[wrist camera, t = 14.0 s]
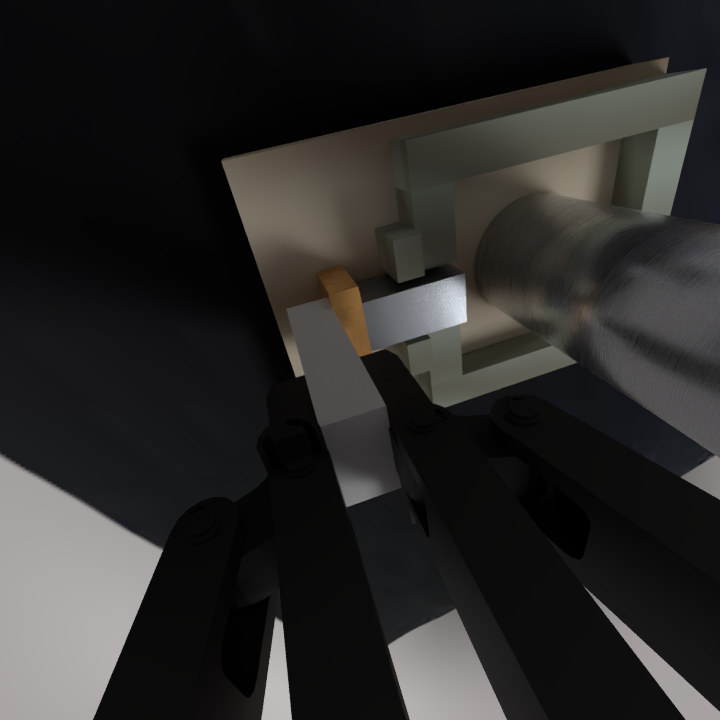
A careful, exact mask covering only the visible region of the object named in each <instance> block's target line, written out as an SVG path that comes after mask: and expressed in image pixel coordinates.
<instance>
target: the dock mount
mask: <svg viewBox="0 0 720 720" xmlns="http://www.w3.org/2000/svg"><path fill="white" fill-rule="evenodd" d="M668 60H669V57H668V58H663V59H657V60H651V61H646V62H640V63H635V64H630V65H626V66H622V67H617V68H613V69H609V70H604V71H600V72H596V73H591V74H587V75H583V76H578V77H574V78H570V79H565V80H561V81H557V82H552V83H548V84H544V85H539V86H535V87H531V88H526V89H522V90H518V91H513V92H509V93H505V94H500V95H496V96H492V97H488V98H483V99H479V100H475V101H470V102H466V103H462V104H457V105H453V106H449V107H444V108H440V109H436V110H431V111H427V112H423V113H418V114H414V115H410V116H405V117H401V118H397V119H392V120H388V121H384V122H379V123H375V124H371V125H366V126H362V127H358V128H353V129H349V130H345V131H340V132H336V133H332V134H327V135H323V136H319V137H314V138H310V139H306V140H301V141H297V142H293V143H288V144H284V145H280V146H275V147H271V148H267V149H263V150H258V151H254V152H250V153H245V154H241V155H237V156H232V157H228V158H224V159H222V161H221V162H222V165H223V168H224V170H225V173H226V176H227V179H228V182H229V185H230V188H231V191H232V194H233V196H234V199H235V202H236V205H237V208H238V211H239V214H240V217H241V220H242V223H243V225H244V228H245V231H246V234H247V237H248V240H249V243H250V246H251V249H252V251H253V254H254V257H255V260H256V263H257V266H258V269H259V272H260V275H261V277H262V280H263V283H264V286H265V289H266V292H267V295H268V298H269V301H270V304H271V306H272V309H273V312H274V315H275V318H276V321H277V324H278V327H279V330H280V332H281V335H282V338H283V341H284V344H285V347H286V350H287V353H288V356H289V358H290V361H291V364H292V367H293V370H294V373H295V376H296V377H299V376H303V375H305V374H304V371H303V367H302V364H301V360H300V357H299V353H298V349H297V346H296V342H295V339H294V335H293V331H292V328H291V324H290V321H289V317H288V313H287V310H286V309H287V308H291V307H294V306H298V305H301V304H305V303H309V302H312V301H316V300H319V299H323V296H322V292H321V288H320V284H319V280H318V277H317V272H320V271H324V270H328V269H331V268H335V267H338V266H343V268H344V269H345V270H346V271H347V273H348V274H349V275H350V276H351V278H352V279H353V280H354V281H355V282H359V281H362V280H366V279H369V278H373V277H376V276H380V275H383V274H387V273H388V274H389V275H390V276H391V277H392V278H393V279H394V280H396V281H397V282H398V283H401V282H404V281H408V280H411V279H415V278H418V277H422V276H425V271H424V270H426V269H429V268H433V267H436V266H439V265H443V264H446V263H449V264H451V265H453V266H454V267H456V268H458V269H459V270H461V271H462V272H464V273H465V284H466V312H467V322H464V323H461V324H458V325H455V326H452V327H448V328H445V329H442V330H439V331H436V332H432V333H429V334H426V335H423V336H419V337H416V338H413V339H410V340H407V341H403V342H400V343H397V344H394V345H391V346H387V347H384V348H381V349H378V350H375V351H372V353H374V352H377V351H380V350H384V349H386V350H388V351H390V352H392V353H394V354H396V355H398V356H399V358H400V359H401V360H402V362H403V363H404V365H405V367H407V369H408V370H409V371H410V374H412V376H413V377H414V378H415V380H416V381H417V382H418V384H419V385H420V387H421V388H422V389H423V391H424V392H425V393H426V395H427V396H428V398H429V399H430V400H431V402H432V403H433V404H437V405H440V406H442V407H448V406H451V405H453V404H456V403H459V402H462V401H465V400H468V399H471V398H474V397H477V396H480V395H483V394H486V393H489V392H492V391H495V390H498V389H500V388H503V387H506V386H509V385H512V384H515V383H518V382H521V381H524V380H527V379H530V378H533V377H536V376H539V375H542V374H545V373H548V372H550V371H553V370H556V369H559V368H562V367H565V366H568V365H571V364H574V363H577V362H576V361H575V360H573V359H572V358H570V357H569V356H567V355H566V354H564V353H563V352H561V351H560V350H558V349H557V348H555V347H554V346H552V345H551V344H549V343H548V342H546V341H545V340H543V339H542V338H540V337H539V336H537V335H536V334H534V333H533V332H531V331H530V330H528V329H527V328H525V327H524V326H522V325H521V324H519V323H518V322H516V321H515V320H513V319H512V318H511V317H509V316H508V315H506V314H505V313H503V312H502V311H500V310H499V309H497V308H496V307H494V306H493V305H491V304H490V303H488V302H487V301H486V300H485V299H484V298H483V297H482V296H481V294H480V292H479V291H478V288H477V286H476V282H475V278H474V260H475V255H476V251H477V247H478V245H479V242H480V240H481V238H482V236H483V234H484V232H485V230H486V229H487V227H488V225H489V224H490V223H491V221H492V220H493V219H494V218H495V217H496V215H497V214H498V213H499V212H500V211H501V210H503V209H504V208H505V207H506V206H507V205H509V204H510V203H512V202H513V201H515V200H517V199H519V198H521V197H523V196H526V195H529V194H533V193H551V194H556V195H561V196H567V197H572V198H577V199H583V200H588V201H593V202H599V203H604V204H610V205H615V206H620V207H626V208H631V209H636V210H642V211H647V212H652V213H658V214H663V215H668V216H670V213H671V209H672V205H673V201H674V197H675V193H676V189H677V185H678V181H679V177H680V173H681V169H682V165H683V161H684V157H685V153H686V149H687V145H688V141H689V137H690V133H691V129H692V125H693V121H694V117H695V113H696V109H697V105H698V101H699V97H700V93H701V89H702V85H703V81H704V77H705V73H706V69H707V68H705V69H698V70H691V71H684V72H677V73H670V74H666V70H667V65H668Z"/></svg>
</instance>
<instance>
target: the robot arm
mask: <svg viewBox="0 0 720 720" xmlns="http://www.w3.org/2000/svg"><path fill="white" fill-rule="evenodd" d="M286 310H287V313H288V317H289V321H290V324H291V328H292V331H293V335H294V339H295V342H296V346H297V349H298V353H299V357H300V360H301V364H302V367H303V371H304V374H305V375H303V376H299V377H296V378H293V379H290V380H286V381H283V382H280V383H277V384H273V385H272V387H271V389H270V391H269V393H268V395H267V406H268V415H269V420H270V421H269V424H270V425H269V426H268V427H267V428H266V429H264V431H263V432H262V434H261V435H260V436H259V438H258V441H257V446H256V448H257V451H258V453H259V455H260V457H261V459H262V461H263V463H264V466H265V468H266V470H267V472H268V476H267V477H266V479H265V480H264V481H263V482H262V483H261V484H260V485H259V486H258V487H257V488H255V489H254V490H253V491H251V492H250V493H248V494H247V495H245V496H244V497H242V498H241V499H239V500H237V501H236V502H233V501H231V500H229V499H227V498H225V497H213V498H210V499H206V500H203V501H201V502H199V503H197V504H196V505H194V506H192V507H191V508H189V509H188V510H187V511H186V512H185V513H184V514H183V515H182V516H181V517H180V518H179V519H178V521H177V522H176V524H175V526H174V527H173V529H172V530H171V533H170V535H169V537H168V540H167V542H166V545H165V547H164V549H163V552H162V554H161V557H160V559H159V562H158V564H157V566H156V569H155V571H154V574H153V576H152V579H151V581H150V584H149V586H148V588H147V591H146V593H145V595H144V598H143V600H142V603H141V605H140V608H139V610H138V613H137V615H136V617H135V620H134V622H133V625H132V627H131V629H130V632H129V634H128V637H127V639H126V641H125V644H124V646H123V649H122V652H121V654H120V656H119V658H118V661H117V663H116V666H115V668H114V671H113V673H112V675H111V678H110V680H109V683H108V685H107V688H106V690H105V692H104V695H103V697H102V700H101V702H100V705H99V707H98V709H97V712H96V714H95V716H94V719H93V720H261V716H262V710H263V703H264V695H265V688H266V680H267V672H268V666H269V658H270V651H271V644H272V637H273V628H274V622H275V615H276V607H277V600H278V593H279V587H280V597H281V608H282V619H283V629H284V639H285V650H286V661H287V671H288V682H289V692H290V703H291V714H292V720H410V719H409V716H408V713H407V709H406V706H405V703H404V699H403V696H402V692H401V689H400V686H399V682H398V679H397V675H396V672H395V669H394V665H393V662H392V658H391V655H390V652H389V648H388V645H387V642H386V638H385V635H384V631H383V628H382V625H381V621H380V618H379V614H378V611H377V608H376V604H375V601H374V598H373V594H372V591H371V587H370V584H369V581H368V577H367V574H366V571H365V567H364V564H363V560H362V557H361V554H360V550H359V547H358V543H357V540H356V537H355V533H354V530H353V527H352V523H351V520H350V517H349V514H348V511H347V507H348V506H351V505H354V504H357V503H359V502H362V501H365V500H368V499H370V498H373V497H376V496H379V495H382V494H384V493H387V492H390V491H393V490H396V489H398V488H401V484H400V479H401V481H402V483H403V486H404V488H405V490H406V493H407V499H408V505H409V510H410V516H411V521H412V525H413V524H416V522H417V524H418V527H419V529H420V531H421V533H422V535H423V537H424V540H425V542H426V544H427V546H428V548H429V551H430V553H431V555H432V557H433V559H434V561H435V564H436V566H437V568H438V570H439V572H440V575H441V577H442V579H443V581H444V583H445V585H446V588H447V590H448V592H449V594H450V596H451V599H452V601H453V603H454V605H455V607H456V609H457V611H458V614H459V616H460V618H461V620H462V623H463V625H464V627H465V629H466V631H467V633H468V635H469V638H470V640H471V642H472V644H473V647H474V649H475V650H476V653H477V655H478V657H479V660H480V662H481V664H482V666H483V668H484V670H485V672H486V675H487V677H488V679H489V681H490V684H491V686H492V688H493V690H494V692H495V694H496V697H497V699H498V701H499V703H500V705H501V708H502V710H503V712H504V714H505V716H506V718H507V720H685V718H684V717H683V716H682V715H681V713H680V712H679V711H678V709H677V708H676V707H675V705H674V704H673V703H672V701H671V700H670V699H669V698H668V696H667V695H666V694H665V692H664V691H663V690H662V689H661V687H660V686H659V685H658V683H657V682H656V681H655V679H654V678H653V677H652V675H651V674H650V673H649V671H648V670H647V669H646V667H645V666H644V665H643V663H642V662H641V661H640V660H639V658H638V657H637V656H636V654H635V653H634V652H633V650H632V649H631V648H630V647H629V645H628V644H627V642H626V641H625V640H624V639H623V637H622V636H621V635H620V633H619V632H618V631H617V629H616V628H615V627H614V625H613V624H612V623H611V622H610V620H609V619H608V618H607V616H606V615H605V614H604V613H603V611H602V610H601V609H600V607H599V606H598V605H597V603H596V602H595V601H594V599H593V598H592V597H591V595H590V594H589V593H588V591H587V590H586V589H585V588H584V587H586V588H587V589H588V590H589V591H590V592H591V593H592V594H593V595H594V596H595V597H596V598H597V599H599V600H600V601H601V602H602V603H603V604H604V605H605V606H607V608H608V609H609V610H610V611H612V612H613V613H614V614H615V615H616V616H617V617H618V618H619V619H620V620H621V621H622V622H623V623H624V624H626V625H627V626H628V627H629V628H630V629H631V630H632V631H633V632H634V633H636V634H637V636H639V637H640V638H641V639H642V640H643V641H644V642H645V643H646V644H647V645H648V646H649V647H650V648H652V649H653V650H654V651H655V652H656V653H657V654H658V655H659V656H660V657H661V658H662V659H664V660H665V661H666V662H667V663H668V664H669V665H670V666H671V667H672V668H673V669H674V670H675V671H676V672H678V673H679V674H680V675H681V676H682V677H683V678H684V679H685V680H686V681H687V682H688V683H689V684H690V685H692V686H693V687H694V688H695V689H696V690H697V691H698V692H699V693H700V694H701V695H702V696H704V697H705V698H706V699H707V700H708V701H709V702H710V703H711V704H712V705H713V706H714V707H716V708H717V709H718V710H719V711H720V500H719V499H717V498H716V497H714V496H712V495H710V494H709V493H707V492H705V491H703V490H701V489H700V488H698V487H696V486H695V485H693V484H691V483H689V482H688V481H686V480H684V479H682V478H681V477H679V476H677V475H675V474H674V473H672V472H670V471H668V470H666V469H665V468H663V467H661V466H659V465H658V464H656V463H654V462H652V461H651V460H649V459H647V458H645V457H644V456H642V455H640V454H638V453H637V452H635V451H633V450H631V449H630V448H628V447H626V446H624V445H623V444H621V443H619V442H617V441H616V440H614V439H612V438H610V437H609V436H607V435H605V434H603V433H602V432H600V431H598V430H596V429H595V428H593V427H591V426H589V425H587V424H586V423H584V422H582V421H580V420H579V419H577V418H575V417H573V416H572V415H570V414H568V413H566V412H565V411H563V410H561V409H559V408H558V407H556V406H554V405H552V404H551V403H549V402H547V401H545V400H543V399H540V398H538V397H536V396H532V395H525V394H516V395H508V396H506V397H503V398H500V399H499V400H498V401H497V402H495V403H494V404H493V406H492V409H491V414H487V415H475V416H458V415H452V413H451V412H449V411H448V410H447V409H446V408H445V407H442V406H440V405H437V404H433V403H432V402H431V400H430V399H429V398H428V396H427V395H426V393H425V392H424V391H423V389H422V388H421V387H420V385H419V384H418V382H417V381H416V380H415V378H414V377H413V376H412V374H410V371H409V370H408V369H407V367H405V365H404V363H403V362H402V360H401V359H400V358H399V356H398V355H396V354H394V353H392V352H390V351H388V350H386V349H384V350H380V351H377V352H374V353H370V354H367V355H364V356H361V357H359V355H358V354H357V352H356V350H355V348H354V346H353V345H352V343H351V341H350V339H349V337H348V335H347V334H346V332H345V330H344V328H343V326H342V324H341V323H340V321H339V319H338V317H337V315H336V314H335V312H334V310H333V309H332V307H331V305H330V303H329V301H328V299H327V298H323V299H319V300H316V301H312V302H309V303H305V304H301V305H298V306H294V307H291V308H287V309H286ZM399 477H400V478H399Z"/></svg>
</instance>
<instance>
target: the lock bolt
mask: <svg viewBox="0 0 720 720" xmlns="http://www.w3.org/2000/svg"><path fill="white" fill-rule="evenodd" d="M424 271H425V276H422V277H418V278H415V279H411V280H408V281H404V282H401V283H398V282H397V281H396V280H394V279H393V278H392V277H391V276H390V275H389V274H388V273H387V274H383V275H380V276H376V277H373V278H369V279H366V280H362V281H359V282H355V281H354V280H353V279H352V278H351V276H350V275H349V274H348V273H347V271H346V270H345V269H344V268H343V266H338V267H335V268H331V269H328V270H324V271H320V272H317V277H318V280H319V284H320V288H321V292H322V296H323V298H327V299H328V301H329V303H330V305H331V307H332V309H333V310H334V312H335V314H336V315H337V317H338V319H339V321H340V323H341V324H342V326H343V328H344V330H345V332H346V334H347V335H348V337H349V339H350V341H351V343H352V345H353V346H354V348H355V350H356V352H357V354H358V355H359V357H361V356H364V355H367V354H370V353H372V351H375V350H378V349H381V348H384V347H387V346H391V345H394V344H397V343H400V342H403V341H407V340H410V339H413V338H416V337H419V336H423V335H426V334H429V333H432V332H436V331H439V330H442V329H445V328H448V327H452V326H455V325H458V324H461V323H464V322H467V312H466V284H465V273H464V272H462V271H461V270H459V269H458V268H456V267H454V266H453V265H451V264H449V263H446V264H443V265H439V266H436V267H433V268H429V269H426V270H424Z"/></svg>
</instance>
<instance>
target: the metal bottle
mask: <svg viewBox="0 0 720 720" xmlns="http://www.w3.org/2000/svg"><path fill="white" fill-rule="evenodd" d="M474 278H475V282H476V286H477V288H478V291H479V292H480V294H481V296H482V297H483V298H484V299H485V300H486V301H487V302H488V303H490V304H491V305H493V306H494V307H496V308H497V309H499V310H500V311H502V312H503V313H505V314H506V315H508V316H509V317H511V318H512V319H513V320H515V321H516V322H518V323H519V324H521V325H522V326H524V327H525V328H527V329H528V330H530V331H531V332H533V333H534V334H536V335H537V336H539V337H540V338H542V339H543V340H545V341H546V342H548V343H549V344H551V345H552V346H554V347H555V348H557V349H558V350H560V351H561V352H563V353H564V354H566V355H567V356H569V357H570V358H572V359H573V360H575V361H576V362H578V363H579V364H581V365H582V366H584V367H585V368H587V369H588V370H590V371H591V372H593V373H594V374H596V375H597V376H599V377H600V378H602V379H603V380H605V381H606V382H608V383H609V384H611V385H612V386H613V387H615V388H616V389H618V390H619V391H621V392H622V393H624V394H625V395H627V396H628V397H630V398H631V399H633V400H634V401H636V402H637V403H639V404H640V405H642V406H643V407H645V408H646V409H648V410H649V411H651V412H652V413H654V414H655V415H657V416H658V417H660V418H661V419H663V420H664V421H666V422H667V423H669V424H670V425H672V426H673V427H675V428H676V429H678V430H679V431H681V432H682V433H684V434H685V435H687V436H688V437H690V438H691V439H693V440H694V441H696V442H697V443H699V444H700V445H702V446H703V447H705V448H706V449H708V450H709V451H711V452H712V453H713V454H715V455H716V456H718V457H720V225H717V224H711V223H706V222H700V221H695V220H690V219H684V218H679V217H674V216H668V215H663V214H658V213H652V212H647V211H642V210H636V209H631V208H626V207H620V206H615V205H610V204H604V203H599V202H593V201H588V200H583V199H577V198H572V197H567V196H561V195H556V194H551V193H533V194H529V195H526V196H523V197H521V198H519V199H517V200H515V201H513V202H512V203H510V204H509V205H507V206H506V207H505V208H504V209H503V210H501V211H500V212H499V213H498V214H497V215H496V217H495V218H494V219H493V220H492V221H491V223H490V224H489V225H488V227H487V229H486V230H485V232H484V234H483V236H482V238H481V240H480V242H479V245H478V247H477V251H476V255H475V260H474Z"/></svg>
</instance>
